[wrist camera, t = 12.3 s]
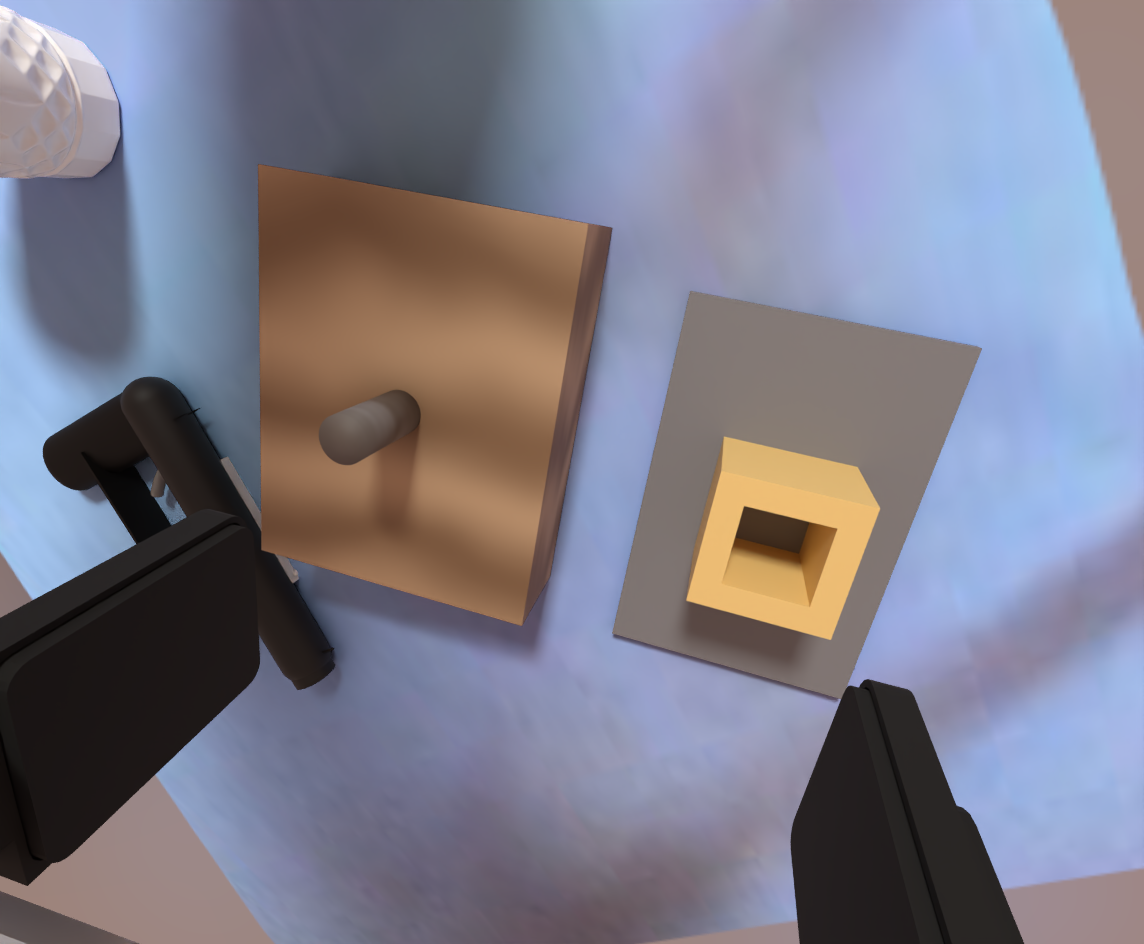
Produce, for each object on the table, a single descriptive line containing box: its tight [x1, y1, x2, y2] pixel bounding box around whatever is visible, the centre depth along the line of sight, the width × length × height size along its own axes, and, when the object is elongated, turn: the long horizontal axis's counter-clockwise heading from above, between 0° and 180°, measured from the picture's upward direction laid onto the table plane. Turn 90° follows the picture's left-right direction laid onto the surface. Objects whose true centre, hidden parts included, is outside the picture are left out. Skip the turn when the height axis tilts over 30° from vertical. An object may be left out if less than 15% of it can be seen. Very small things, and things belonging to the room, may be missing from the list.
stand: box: [258, 164, 612, 626], centre depth 29 cm, size 18×14×10 cm
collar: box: [686, 437, 880, 640], centre depth 28 cm, size 6×6×5 cm
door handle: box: [43, 377, 335, 690], centre depth 40 cm, size 3×20×16 cm
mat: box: [612, 291, 982, 699], centre depth 31 cm, size 18×12×1 cm, turn 170°
